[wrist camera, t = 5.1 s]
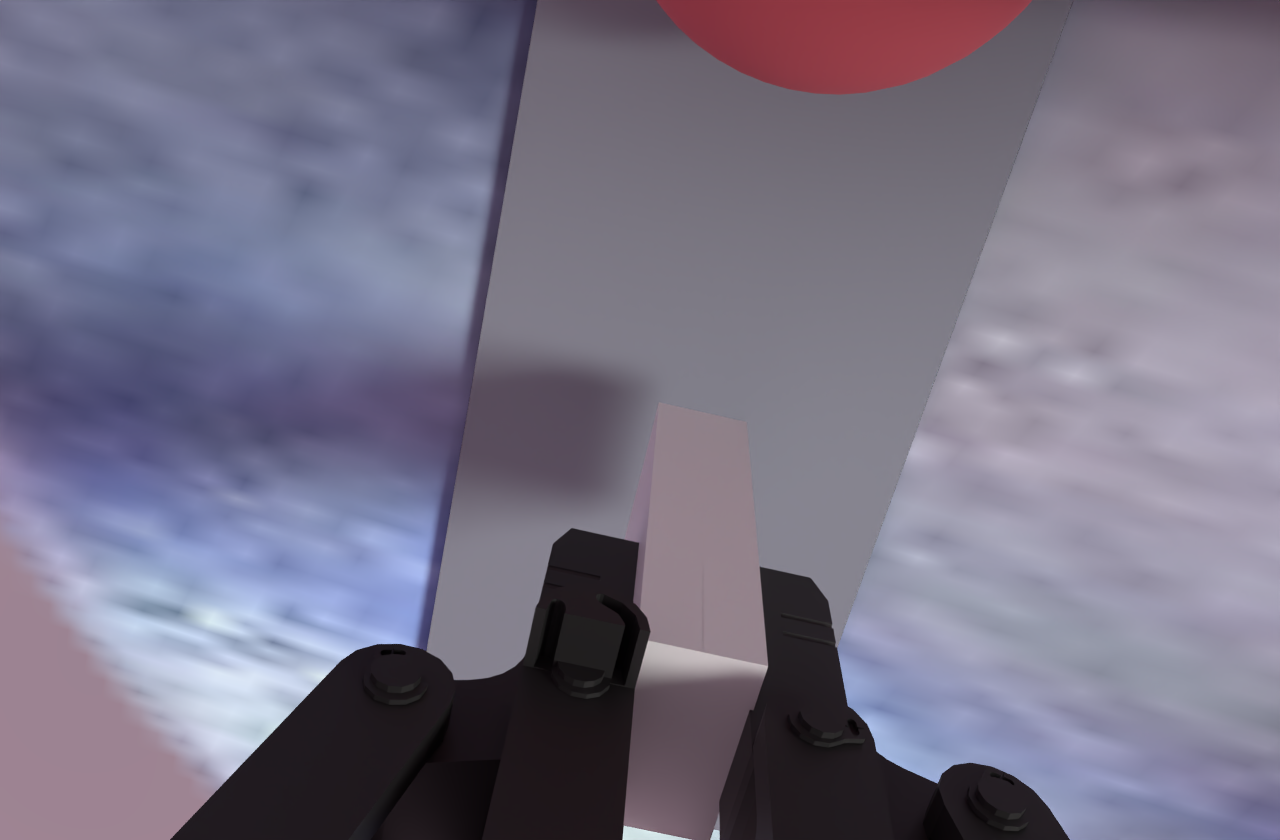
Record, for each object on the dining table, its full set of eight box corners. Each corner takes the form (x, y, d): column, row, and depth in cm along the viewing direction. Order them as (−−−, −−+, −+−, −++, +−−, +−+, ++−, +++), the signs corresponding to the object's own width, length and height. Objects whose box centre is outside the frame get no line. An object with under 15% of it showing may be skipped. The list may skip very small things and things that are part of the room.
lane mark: (734, -1141, 12) (734, -1157, 12) (1412, -945, 13) (1422, -957, 12) (409, 759, 24) (407, 765, 24) (766, 833, 24) (766, 840, 24)
